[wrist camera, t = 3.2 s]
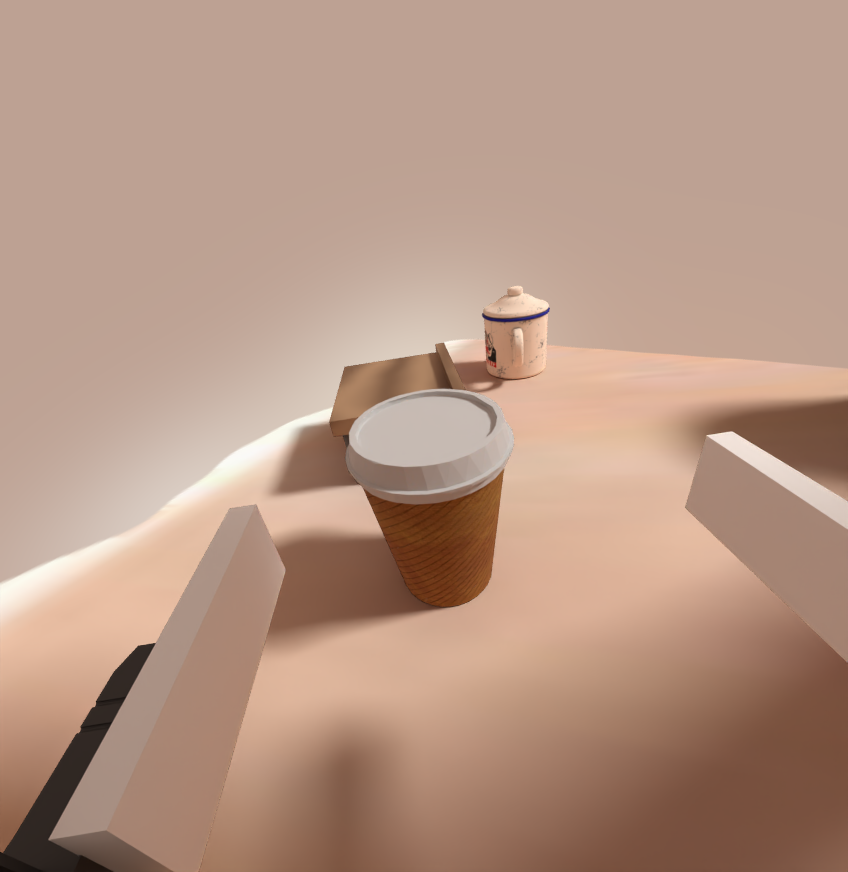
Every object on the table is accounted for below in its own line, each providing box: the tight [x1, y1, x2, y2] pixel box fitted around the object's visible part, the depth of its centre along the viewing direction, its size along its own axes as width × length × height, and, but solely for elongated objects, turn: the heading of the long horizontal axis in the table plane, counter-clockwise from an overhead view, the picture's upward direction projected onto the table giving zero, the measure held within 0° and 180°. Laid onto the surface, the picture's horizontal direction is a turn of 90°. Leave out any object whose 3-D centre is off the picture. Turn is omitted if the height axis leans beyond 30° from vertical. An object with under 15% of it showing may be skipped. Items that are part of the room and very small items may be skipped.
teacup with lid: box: [482, 286, 550, 379], centre depth 53 cm, size 12×9×12 cm
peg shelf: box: [329, 343, 466, 484], centre depth 40 cm, size 12×14×8 cm
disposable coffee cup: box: [345, 389, 514, 607], centre depth 24 cm, size 10×10×12 cm
